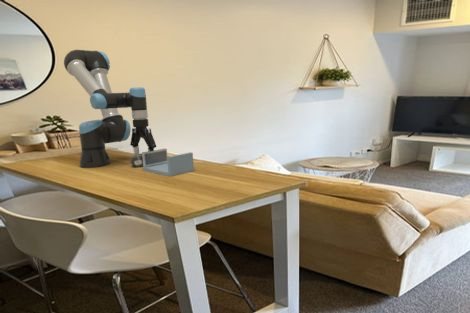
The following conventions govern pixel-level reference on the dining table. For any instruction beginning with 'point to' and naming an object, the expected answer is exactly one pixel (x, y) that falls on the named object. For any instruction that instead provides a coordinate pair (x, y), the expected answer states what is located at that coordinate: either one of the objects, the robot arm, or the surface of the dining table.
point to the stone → (137, 160)
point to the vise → (173, 165)
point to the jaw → (154, 157)
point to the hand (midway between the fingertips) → (144, 160)
